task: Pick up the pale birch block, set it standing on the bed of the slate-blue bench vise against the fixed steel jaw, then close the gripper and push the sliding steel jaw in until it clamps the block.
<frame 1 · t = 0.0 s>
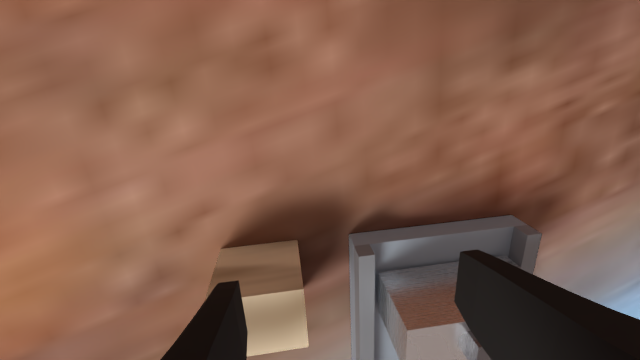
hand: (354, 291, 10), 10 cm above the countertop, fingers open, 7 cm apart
sliding jaw: (465, 313, 18), point 5 cm above the countertop, slide at 0.0 cm
block: (263, 269, 21), on the countertop
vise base: (425, 313, 24), on the countertop
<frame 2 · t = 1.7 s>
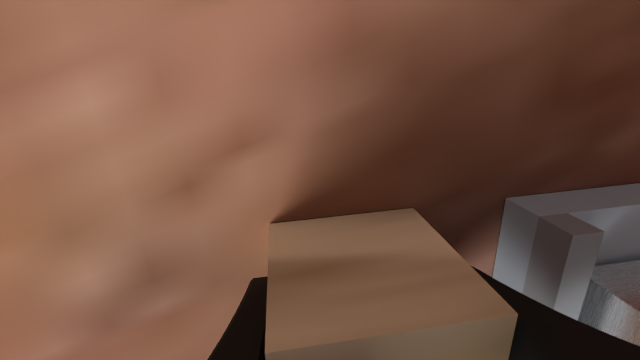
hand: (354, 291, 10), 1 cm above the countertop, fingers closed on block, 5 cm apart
block: (344, 264, 11), on the countertop, touching gripper
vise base: (596, 339, 15), on the countertop
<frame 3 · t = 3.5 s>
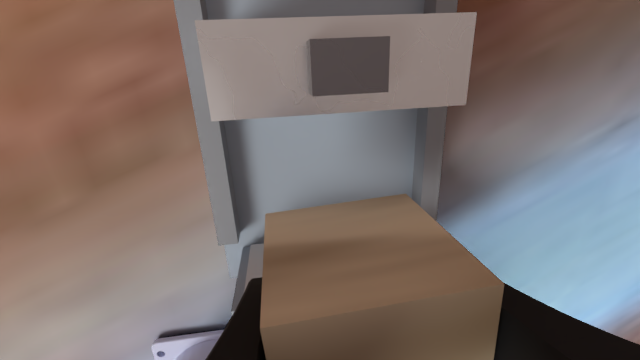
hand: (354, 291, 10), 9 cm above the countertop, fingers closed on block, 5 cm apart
sliding jaw: (333, 67, 12), point 5 cm above the countertop, slide at 0.0 cm
block: (341, 252, 11), point 8 cm above the countertop, touching gripper
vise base: (321, 149, 18), on the countertop
when the fingers open (4 cm above the countertop, at t = 5.1 s): block stays where it is, resting on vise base.
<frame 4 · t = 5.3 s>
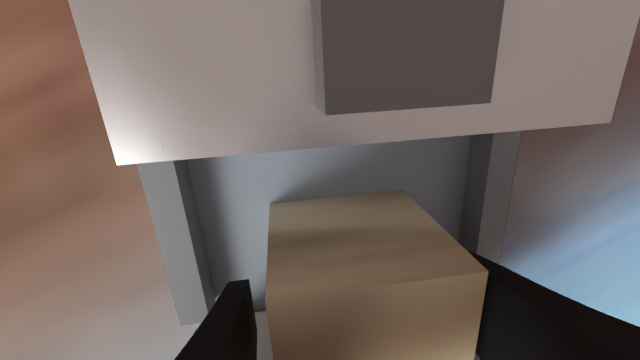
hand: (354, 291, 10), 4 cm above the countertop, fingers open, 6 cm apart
sliding jaw: (358, 55, 7), point 5 cm above the countertop, slide at 0.0 cm
block: (339, 243, 12), point 1 cm above the countertop, touching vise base
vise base: (330, 177, 13), on the countertop
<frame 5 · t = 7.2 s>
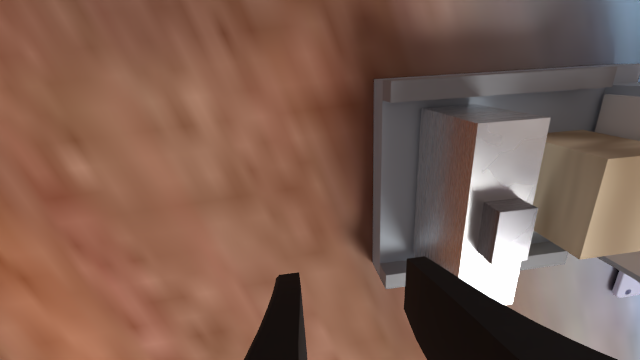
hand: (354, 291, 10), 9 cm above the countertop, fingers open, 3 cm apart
sliding jaw: (471, 206, 15), point 5 cm above the countertop, slide at 0.0 cm
block: (543, 173, 19), point 1 cm above the countertop, touching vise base
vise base: (493, 169, 20), on the countertop
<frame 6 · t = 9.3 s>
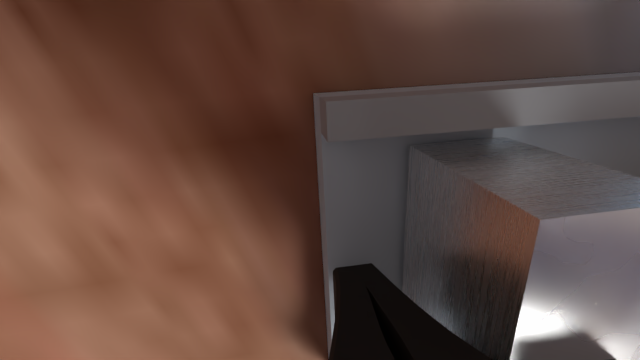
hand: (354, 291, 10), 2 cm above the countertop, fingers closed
sliding jaw: (500, 333, 8), point 5 cm above the countertop, slide at 0.6 cm, touching gripper
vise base: (511, 229, 13), on the countertop
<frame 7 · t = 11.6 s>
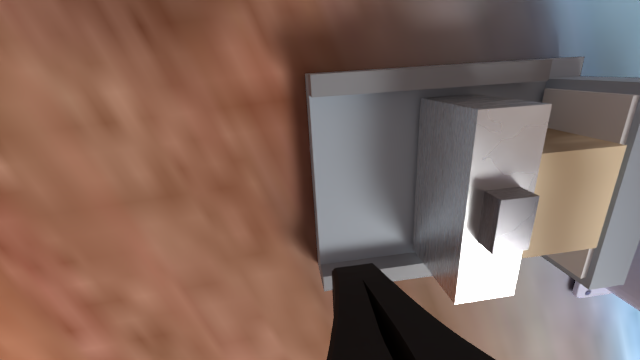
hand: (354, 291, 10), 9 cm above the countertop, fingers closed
sliding jaw: (471, 197, 15), point 5 cm above the countertop, slide at 3.7 cm, touching block
block: (494, 169, 18), point 1 cm above the countertop, touching sliding jaw, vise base
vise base: (438, 166, 19), on the countertop
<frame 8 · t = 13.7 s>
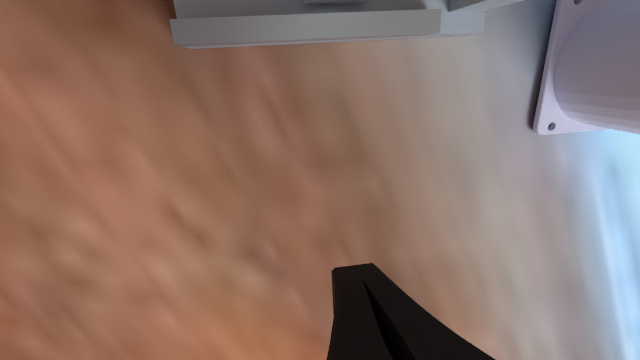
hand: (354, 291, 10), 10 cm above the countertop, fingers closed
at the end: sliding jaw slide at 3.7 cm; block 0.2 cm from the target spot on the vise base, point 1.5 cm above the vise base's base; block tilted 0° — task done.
